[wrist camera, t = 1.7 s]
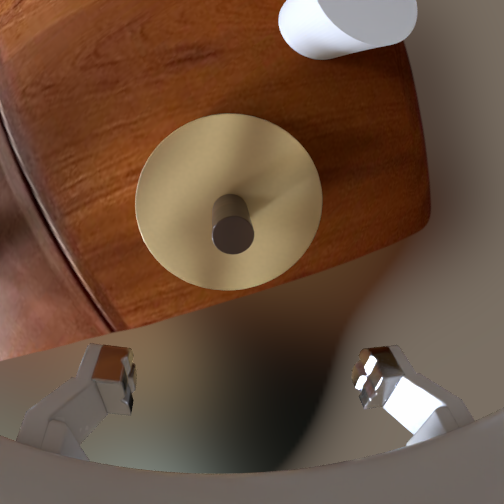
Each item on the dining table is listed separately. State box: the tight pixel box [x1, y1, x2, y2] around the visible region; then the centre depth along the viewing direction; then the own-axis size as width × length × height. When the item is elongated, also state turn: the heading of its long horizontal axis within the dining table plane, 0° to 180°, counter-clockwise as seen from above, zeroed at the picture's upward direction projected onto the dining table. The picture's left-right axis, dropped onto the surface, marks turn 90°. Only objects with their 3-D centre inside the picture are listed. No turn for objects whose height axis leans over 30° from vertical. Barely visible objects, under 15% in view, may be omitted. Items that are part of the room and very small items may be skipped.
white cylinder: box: [279, 0, 417, 60], centre depth 20 cm, size 8×8×12 cm
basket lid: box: [135, 113, 322, 290], centre depth 22 cm, size 14×14×6 cm
